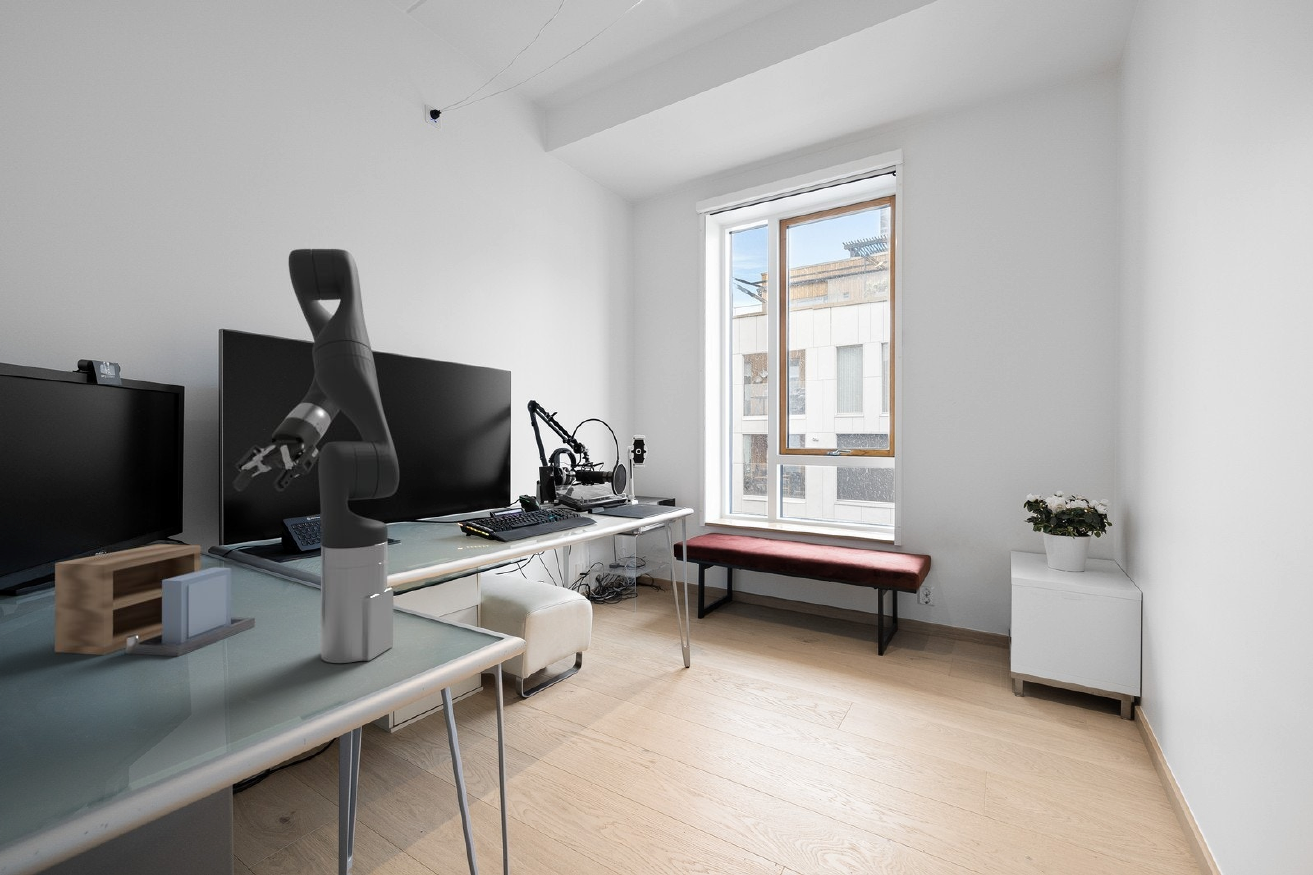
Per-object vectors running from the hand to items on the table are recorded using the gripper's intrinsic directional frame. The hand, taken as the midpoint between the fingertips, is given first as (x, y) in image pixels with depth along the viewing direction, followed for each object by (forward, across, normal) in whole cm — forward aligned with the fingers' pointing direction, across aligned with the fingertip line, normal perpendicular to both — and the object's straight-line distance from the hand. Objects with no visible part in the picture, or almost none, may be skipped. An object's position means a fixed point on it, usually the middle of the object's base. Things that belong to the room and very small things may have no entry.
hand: (256, 488), depth 106 cm
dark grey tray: (+25, 0, +9) cm, 27 cm away
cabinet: (+25, -13, +9) cm, 30 cm away
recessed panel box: (+25, 0, +9) cm, 27 cm away
